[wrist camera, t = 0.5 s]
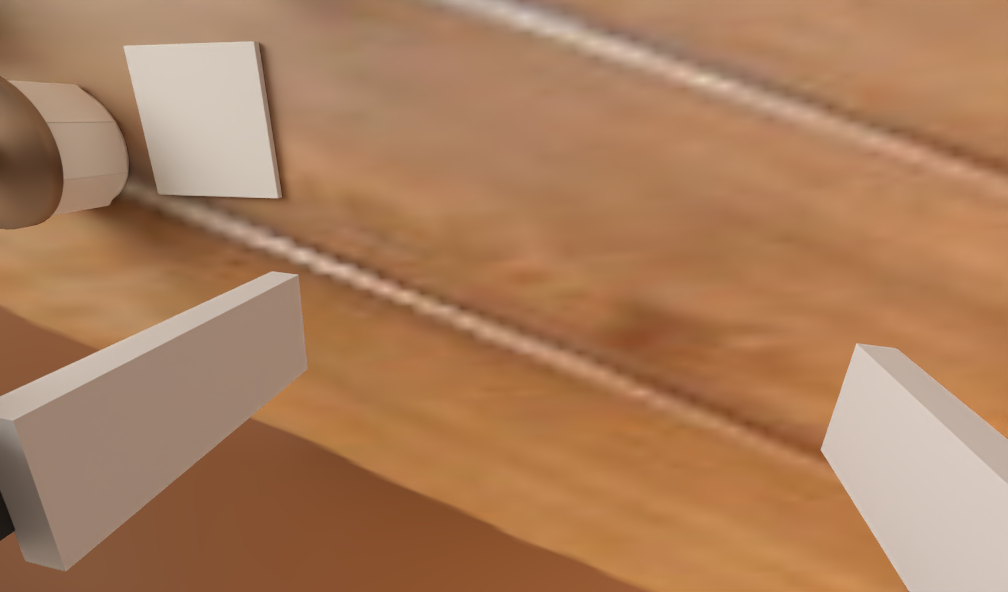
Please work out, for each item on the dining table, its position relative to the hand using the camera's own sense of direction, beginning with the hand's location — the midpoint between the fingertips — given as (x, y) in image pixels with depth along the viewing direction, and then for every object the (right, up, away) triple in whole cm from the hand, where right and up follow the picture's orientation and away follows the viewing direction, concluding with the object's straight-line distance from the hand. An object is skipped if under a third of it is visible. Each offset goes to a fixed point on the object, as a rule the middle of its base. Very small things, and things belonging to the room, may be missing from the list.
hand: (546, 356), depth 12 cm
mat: (-26, +16, +30) cm, 43 cm away
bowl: (-40, +15, +33) cm, 54 cm away
